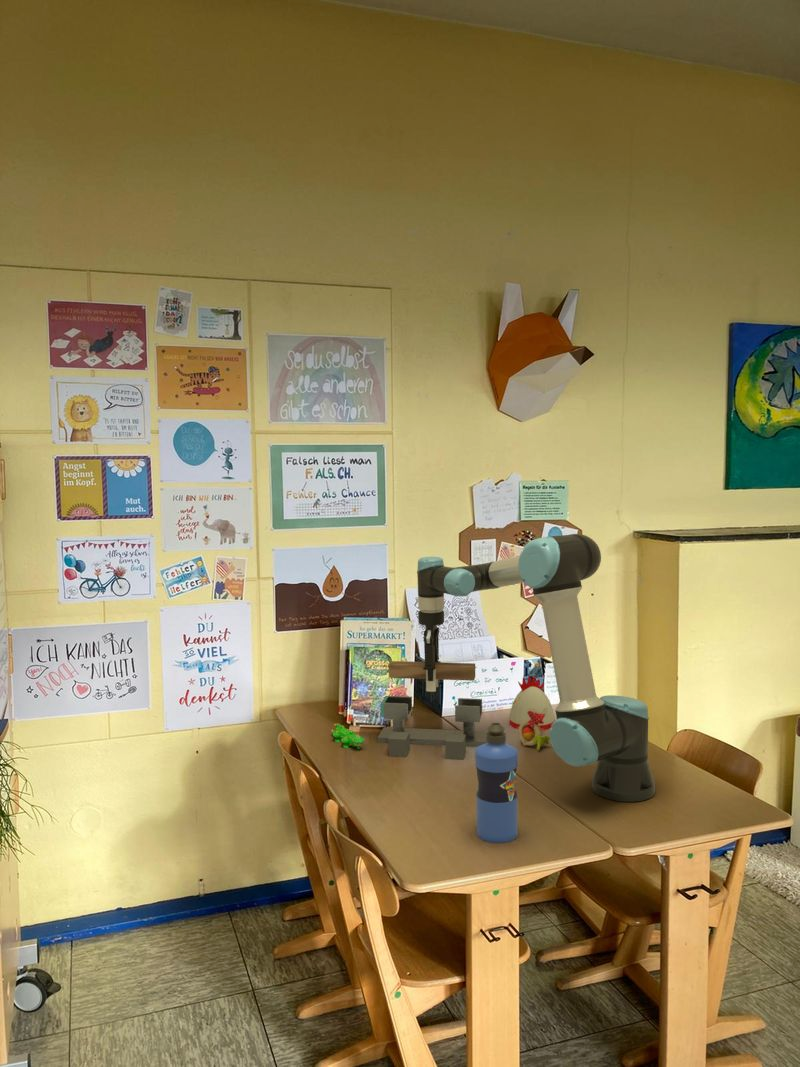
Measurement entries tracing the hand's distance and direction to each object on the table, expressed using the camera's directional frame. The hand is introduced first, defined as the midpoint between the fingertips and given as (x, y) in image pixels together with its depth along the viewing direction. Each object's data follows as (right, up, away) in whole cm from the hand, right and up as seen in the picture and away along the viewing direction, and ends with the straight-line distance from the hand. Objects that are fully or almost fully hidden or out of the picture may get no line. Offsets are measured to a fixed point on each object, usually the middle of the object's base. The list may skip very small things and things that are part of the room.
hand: (432, 688), depth 244 cm
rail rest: (-2, -16, -10) cm, 20 cm away
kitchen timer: (+31, -14, +14) cm, 37 cm away
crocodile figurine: (-25, -16, +1) cm, 30 cm away
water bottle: (+12, -21, -60) cm, 64 cm away
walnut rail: (0, +3, 0) cm, 3 cm away
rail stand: (0, -15, +1) cm, 15 cm away
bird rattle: (+28, -16, -7) cm, 33 cm away
